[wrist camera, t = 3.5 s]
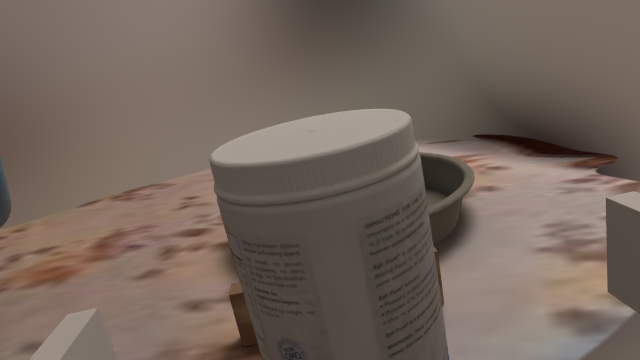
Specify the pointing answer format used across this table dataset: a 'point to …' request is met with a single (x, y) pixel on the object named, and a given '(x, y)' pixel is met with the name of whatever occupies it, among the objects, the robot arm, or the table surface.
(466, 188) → the cake pan
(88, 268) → the table surface
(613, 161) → the table surface
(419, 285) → the supplement tub
